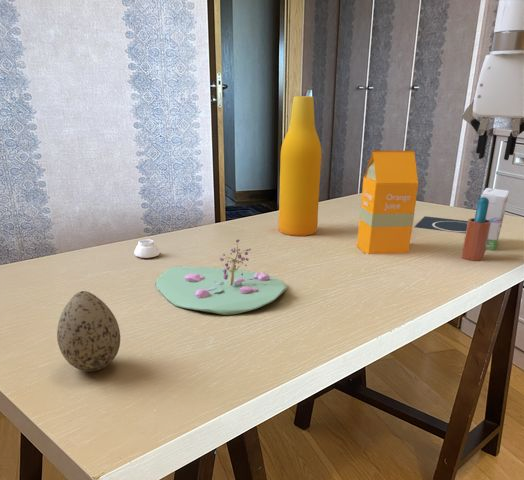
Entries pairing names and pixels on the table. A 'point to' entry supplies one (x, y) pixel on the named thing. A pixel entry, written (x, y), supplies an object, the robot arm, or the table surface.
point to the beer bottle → (300, 172)
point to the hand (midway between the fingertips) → (493, 157)
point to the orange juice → (388, 203)
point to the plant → (219, 287)
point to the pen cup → (475, 240)
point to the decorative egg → (88, 333)
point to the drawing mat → (443, 224)
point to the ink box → (495, 214)
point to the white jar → (146, 249)
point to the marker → (481, 210)
